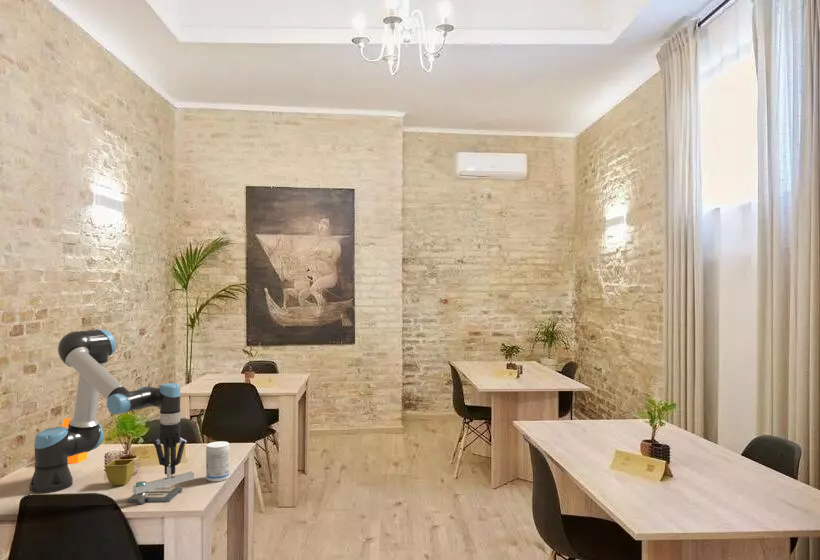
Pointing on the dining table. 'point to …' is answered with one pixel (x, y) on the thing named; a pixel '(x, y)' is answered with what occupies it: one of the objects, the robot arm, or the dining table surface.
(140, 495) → the pivot post
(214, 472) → the supplement tub
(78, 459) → the orange juice
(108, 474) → the flower pot
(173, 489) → the label plate
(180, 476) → the swing bar
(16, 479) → the dining table surface
